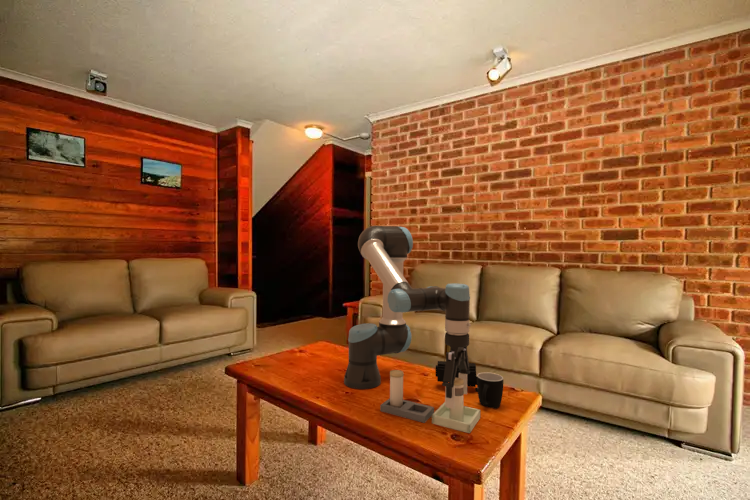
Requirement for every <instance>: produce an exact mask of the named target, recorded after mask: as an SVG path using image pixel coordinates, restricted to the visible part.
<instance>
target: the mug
mask: <svg viewBox="0 0 750 500" xmlns="http://www.w3.org/2000/svg"><path fill="white" fill-rule="evenodd" d="M476 377H477V385H476V388H477V389H478V392H477V396H478V397H477V398H478V401H479V404H480V405H481V406H482V407H486V408H490V409H494V410H495V409H498V408H500V406H501V403H502V400H503V392H504V377H503V376H502V375H501V374H498V373H494V372H490V371H489V372H488V371H486V372H485V371H484V372H479V373H477V374H476Z"/></svg>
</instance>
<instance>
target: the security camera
mask: <svg viewBox="0 0 750 500" xmlns="http://www.w3.org/2000/svg"><path fill="white" fill-rule="evenodd" d="M445 363H446V360H445V361H444V360H437V364H436V365H435V373H434V374H435V378H437V382H439V383H443V377H444V370H445ZM466 366H467V365H466ZM469 370H470V374H468V373H466V374H467V387H471V388H472V387H473V388H474V389H475V392H476V393H478V389H477V364H476V363H473V362H469ZM459 373H461V372H460V371H459V367H457V372H456V376H455V378H459Z"/></svg>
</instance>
